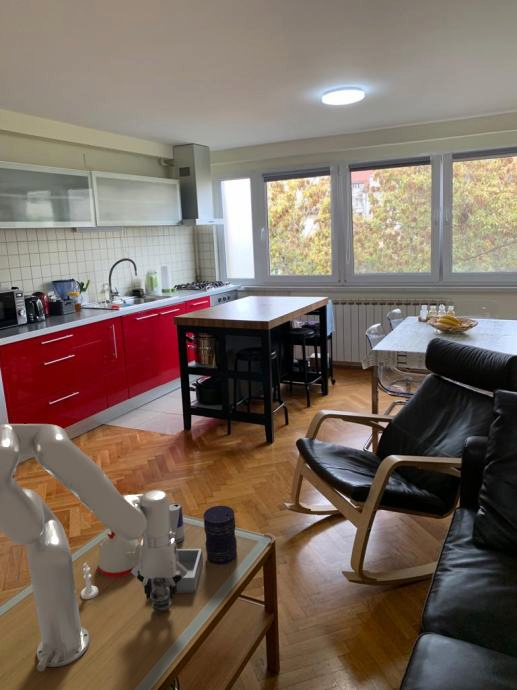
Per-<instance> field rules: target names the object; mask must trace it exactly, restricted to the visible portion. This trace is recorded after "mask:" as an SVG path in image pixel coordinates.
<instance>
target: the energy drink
mask: <svg viewBox="0 0 517 690" xmlns="http://www.w3.org/2000/svg"><path fill="white" fill-rule="evenodd" d="M169 510H170V526H171V530H172V532H174V533H176V538H174V539H175V542H176V543H179V542H182V541H183V540H184V539H185V529H184V528H185V527H184V516H183V507H182V505H181V503H179V502H172V503H169Z"/></svg>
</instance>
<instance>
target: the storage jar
mask: <svg viewBox="0 0 517 690" xmlns="http://www.w3.org/2000/svg"><path fill="white" fill-rule="evenodd" d="M203 527H204V529H203V530H204V533H205V538H206V540H205V551H206V559H207V561H208V562H209V563H210V564H211V565H214V566H215V565H216V566H224V565H225V566H226V565H229V564H231V563H233V562H234V561H236V559H237V557H238V551H237V549H238V546H237V545H238V543H237V537H236V518H235V510H234V509H233V508H232V507H231V506H227V505H215V506H212V507H209V508H207V509H206V510H205V511H204V513H203Z"/></svg>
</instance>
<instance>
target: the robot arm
mask: <svg viewBox="0 0 517 690" xmlns="http://www.w3.org/2000/svg"><path fill="white" fill-rule="evenodd" d="M26 457H31V458H32V457H34V458H35V461H36V463H38V465H39V466H40V467H41V468H42V469H44V470H45V471H46V472H47V473H48V474H49V475H50V476H52V477H53V478H54V479H55V480H57V481H58V482H59V483H60V484H61V485H63V486H64V487H65V489H67V490H69V491H70V492H71V493H72V494H73V495H74V496H75V497H76V498H77V499H78V500H79V501H80V502H81V503H82V504H83V505H84V506H85V507H86V508H87V509H88V510H89V511H90V512H91V513H92V514H93V515H94V516H95V517H96V518H97V519H98V520H99V521H100V522H101V523H102V524H103V525H104V526H105V527H106V528H108V529H109V531H110V532H111V531H112V532H114V533H115V534H116V535H117V536H119V537H120V538H122V539H124V540H128V541H132V540H136V539H137V540H138V539H141V537H142V539H141V541H140V554H139V563H138V564H137V565H136V566H135V567H134V568H133V569H132V571H131V574H132V575H133V576H134V577H136V579H137V580H138V581H140V582H141V585H142V586H143V589H144V591H143V592H144V594H145V595H146V599H147V600H149V599H151V597H150V593H151V591H152V584H151V579H149V577H161V578H168V580H169V582H170V587H169V589H170V600H173V599H174V597H175V595H176V594H178V593H177V585H176V584H177V583H178V582H179V581H180V580H181V578H183V577H184V576H185V575H186V574H187V571H188V570H187V569H186V568H185V567H184V566H183V565H182V564H180V563H179V558H178V551H177V549H178V547H177V542H175V539H174V538H176V533H174V532H172V530H171V526H170V510H169V504H170V498H169V495H168V493H167V492H166V491H163V490H159V489H154V490H149V491H146V492H145V493H139V494H136V493H135V494H123V495H122V494H121V493H120V491H119V490H118V489H117V488H116V486H115V485H114V484H113V482H112V481H111V479H110V478H109V476H108V475H107V474H106V472H105V471H104V470H103V469H102V467H100V466H99V465H98V464H97V463H96V462H95V461H93V460H92V459H91V458H90V457H89V456H88V455H87V454H86V453H84V452H83V451H82V450H81V449H80V448H79V447H78V446H77V445H76V444H75V443H73V441H72V440H70V437H69V436H68V434H67V432H66V431H65V429H64V428H62V427H61V426H58V425H56V424H49V423H26V424H24V423H2V424H0V531H1V533H3V535H4V536H5V537H6V538H7V539H8V541H10V542H12V543H13V544H15V545H17V546H25V548H26V549H25V550H26V556H27V564H28V565H27V566H28V571H29V576H30V580H31V586H32V591H33V592H32V593H33V598H34V604H35V610H36V615H37V621H38V626H39V632H40V633H39V634H40V639H41V641H40V642H39V643H38V646H37V648H36V656H37V661H38V664H37V666H36V669H37V671H38V672H43V671H45V669H46V668H47V667H49V668H51V667H52V668H57V667H62V666H66V665H69V664H71V663H72V662H74V661H75V660H78V659H79V658H80V657H81V656H82V655H83V654H85V652H86V650H87V649H88V647H89V645H90V633H89V631H88V630H87V629H86V628H85V627H83V626H82V623H81V618H80V617H81V616H80V609H79V604H78V603H79V602H78V597H77V590H76V582H75V577H74V576H75V575H74V567H73V565H74V564H73V555H72V550H71V548H70V543H69V540H68V538H67V535H66V530H65V529H64V526H63V524H62V523H61V521H60V520H59V519H58V517H57V515H55V513H54V512H53V511H52V509H50V507H49V506H48V505H47V503H46V502H45V501H44V499H43V498H42V497H41V496H40V494H38V493H37V492H36V491H34V490H32V489H29V488H23V487H22V486H20V484H19V483H18V482H17V481H16V480H15V479H14V472H15V470H16V469H17V467H18V465H19V462H20V461H21V460H20V459H21V458H26ZM176 570H178V571H179V572H180V573H178V574H177V575H176Z"/></svg>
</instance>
